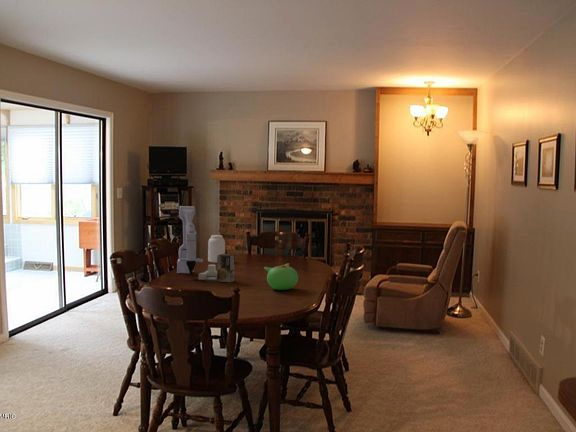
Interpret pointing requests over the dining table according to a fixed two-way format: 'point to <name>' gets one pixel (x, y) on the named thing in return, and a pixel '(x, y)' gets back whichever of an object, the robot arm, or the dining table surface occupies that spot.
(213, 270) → the charger
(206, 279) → the phone
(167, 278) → the dining table surface
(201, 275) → the cable plug
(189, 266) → the robot arm
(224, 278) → the coffee box
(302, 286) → the dining table surface
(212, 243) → the can
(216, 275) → the outlet plate
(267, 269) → the green rounded lump
